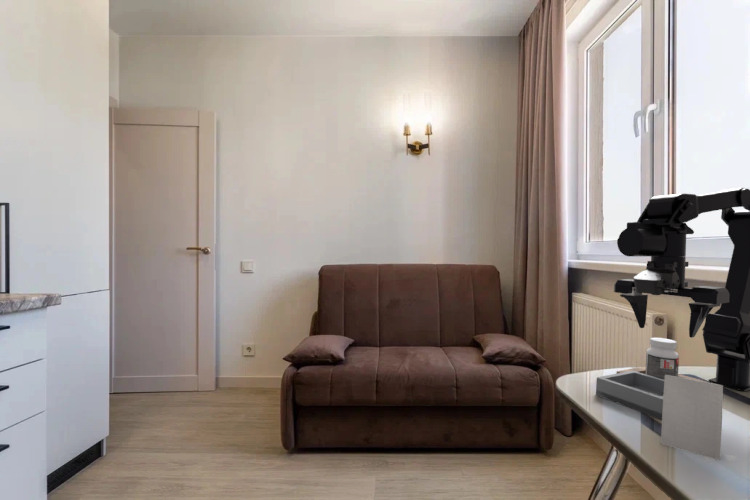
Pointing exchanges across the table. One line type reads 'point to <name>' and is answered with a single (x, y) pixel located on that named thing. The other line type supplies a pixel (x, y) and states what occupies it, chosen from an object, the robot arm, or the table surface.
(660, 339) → the pill bottle
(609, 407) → the table surface
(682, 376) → the socket block
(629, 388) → the parts tray
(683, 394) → the upright grey panel
